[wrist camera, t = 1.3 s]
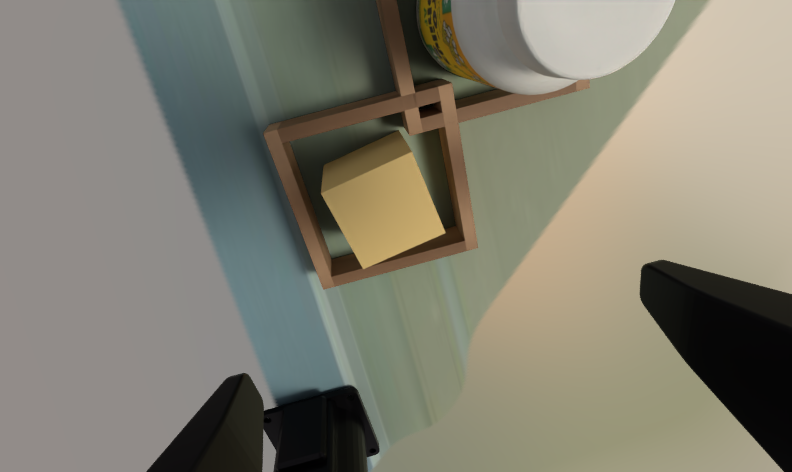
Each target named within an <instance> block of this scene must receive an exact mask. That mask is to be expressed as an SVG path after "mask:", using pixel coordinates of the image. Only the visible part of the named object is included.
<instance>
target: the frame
mask: <svg viewBox="0 0 792 472" xmlns="http://www.w3.org/2000/svg"><path fill="white" fill-rule="evenodd" d="M414 89H415V93H413V94H409V95H405V96H406V97H405V96H400V95H399V94H398V93H397V92H396V91H394V92H390V93H386V94H383V95H379V96H375V97H371V98H368V99H364V100H360V101H356V102H353V103H349V104H345V105H341V106H338V107H334V108H330V109H326V110H322V111H319V112H315V113H311V114H307V115H304V116H300V117H296V118H292V119H289V120H285V121H281V122H277V123H274V124H270V125H269V126H268V127H267V129H266V130H265V131H264V133H263V135H264V137H265V140H266V142H267V145H268V148H269V150H270V153H271V155H272V158H273V161H274V163H275V166H276V168H277V171H278V173H279V176H280V179H281V181H282V184H283V186H284V189H285V192H286V194H287V197H288V199H289V202H290V204H291V207H292V210H293V212H294V215H295V217H296V220H297V223H298V225H299V228H300V230H301V233H302V235H303V238H304V241H305V243H306V246H307V248H308V251H309V254H310V256H311V259H312V261H313V264H314V266H315V269H316V272H317V274H318V277H319V279H320V282H321V285H322V287H323V290H324V289H327V288H331V287H335V286H339V285H342V284H346V283H350V282H353V281H357V280H361V279H364V278H368V277H372V276H376V275H379V274H383V273H387V272H390V271H394V270H398V269H401V268H405V267H409V266H413V265H416V264H420V263H424V262H427V261H431V260H435V259H439V258H442V257H446V256H450V255H453V254H457V253H461V252H464V251H468V250H472V249H476V248H478V244H477V238H476V231H475V225H474V219H473V212H472V206H471V200H470V194H469V187H468V181H467V175H466V168H465V162H464V156H463V150H462V143H461V137H460V131H459V124H458V118H457V112H456V106H455V99H454V93H453V87H452V83H451V82H449V81H446V80H444V79H439V80H435V81H431V82H428V83H424V84H420V85H416V86H414ZM414 94H415V97H413V96H414ZM407 96H408V97H407ZM412 97H413V99H412ZM402 98H403V99H402ZM414 98H415V101H414ZM416 100H417V101H416ZM412 101H413V102H412ZM403 102H404V103H403ZM415 102H416V103H415ZM432 103H434V106H435V107H436V108H437V109H438V110H440V111H441V112H442V113H443V115H444V116H443V117H444V118H445V119H444V123H445V127H441V128H438V131H439V136H440V142H441V147H442V152H443V158H444V163H445V169H446V174H447V180H448V185H449V191H450V196H451V202H452V207H453V212H454V218H455V223H456V226H454V227H450V228H446V229H444V230H445V232H446V233H445V234H442V235H440V236H438V237H436V238H433V239H431V240H429V241H426V242H424V243H422V244H420V245H417V246H415V247H413V248H411V249H408V250H406V251H404V252H401V253H399V254H397V255H395V256H392V257H390V258H388V259H386V260H383V261H381V262H379V263H376V264H374V265H372V266H370V267H367V268H365V269H363V268H362V266H361V264H360V262H359V261H358V259H357V257H356V255H355V253H353V254H350V255H346V256H342V257H339V258H335V259H331V256H330V253H329V250H328V248H327V245H326V242H325V239H324V237H323V234H322V231H321V228H320V225H319V223H318V220H317V217H316V214H315V212H314V209H313V206H312V203H311V200H310V198H309V195H308V192H307V189H306V187H305V184H304V181H303V178H302V175H301V173H300V170H299V167H298V164H297V162H296V159H295V156H294V153H293V150H292V148H291V145H290V142H289V141H293V140H297V139H300V138H304V137H308V136H312V135H315V134H319V133H323V132H327V131H330V130H334V129H338V128H342V127H345V126H349V125H353V124H357V123H360V122H364V121H368V120H372V119H375V118H379V117H383V116H387V115H390V114H394V113H398V112H402V111H405V110H409V109H413V108H415V107H416V108H417V107H420V106H424V105H428V104H432ZM415 104H416V106H415ZM408 105H409V106H408ZM406 106H407V107H406ZM405 108H406V109H405ZM451 113H452V114H451ZM448 116H449V117H448ZM452 117H453V118H452ZM446 118H447V119H446ZM446 121H447V122H446ZM448 121H449V122H448ZM453 121H455V122H453ZM447 124H448V125H447Z"/></svg>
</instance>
